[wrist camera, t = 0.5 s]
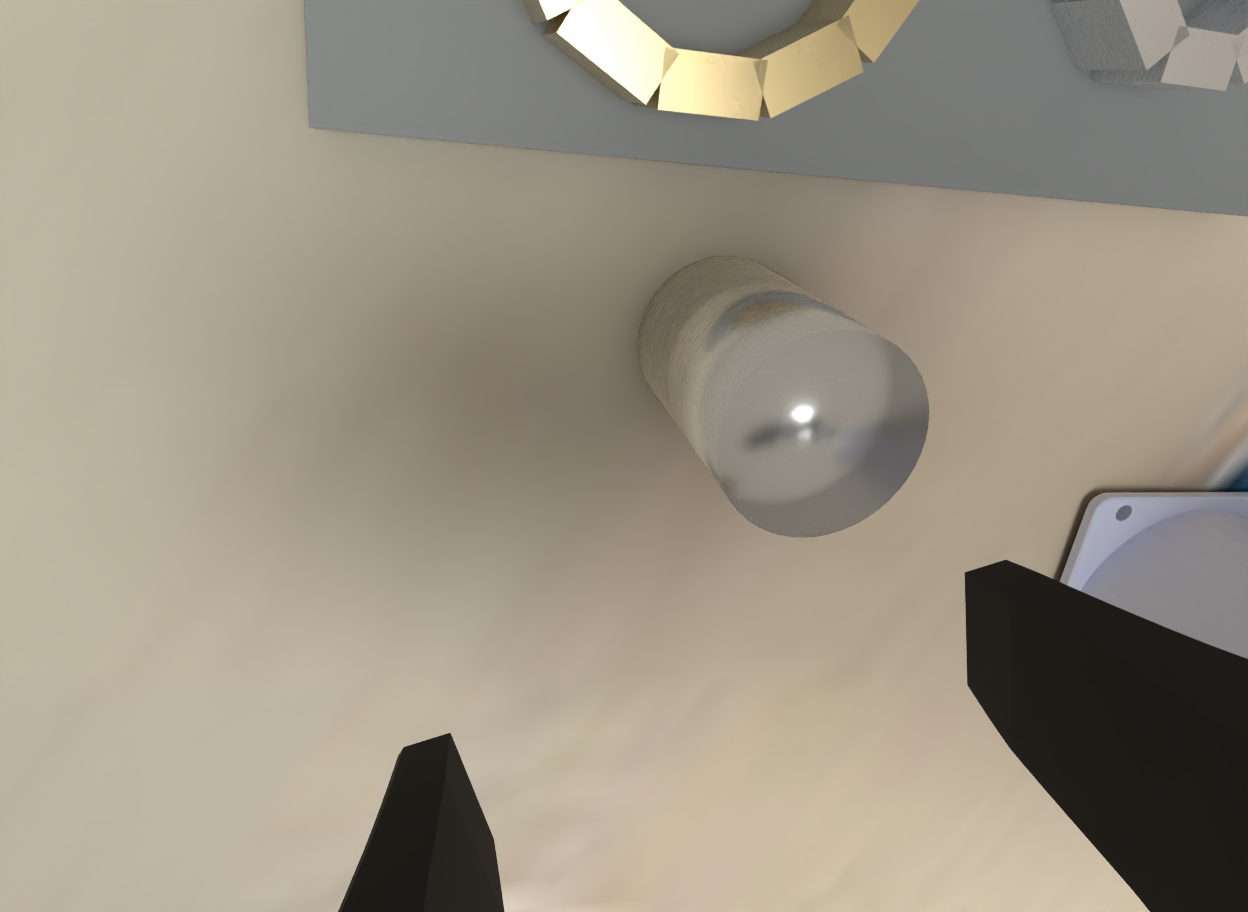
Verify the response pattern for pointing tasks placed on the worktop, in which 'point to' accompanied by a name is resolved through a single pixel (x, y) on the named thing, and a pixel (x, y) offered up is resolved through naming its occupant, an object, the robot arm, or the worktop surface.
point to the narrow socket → (1157, 42)
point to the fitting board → (809, 132)
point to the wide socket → (721, 56)
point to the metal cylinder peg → (783, 396)
